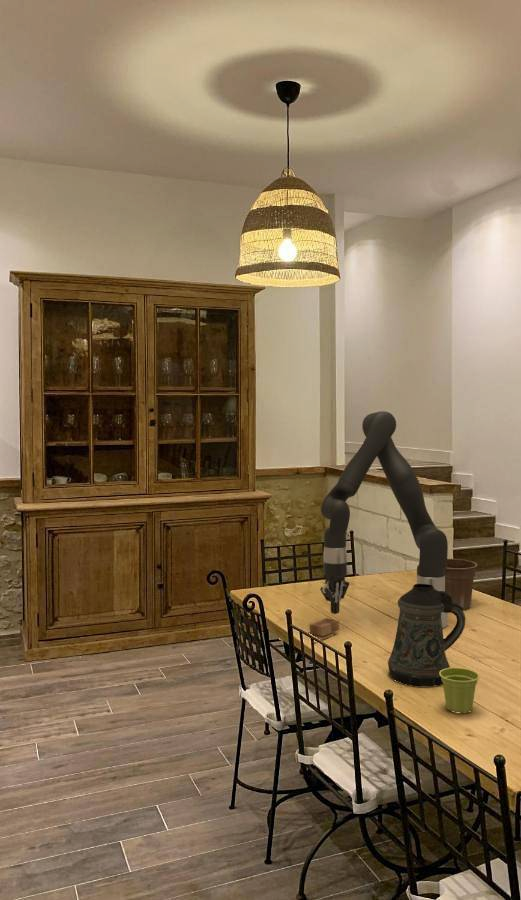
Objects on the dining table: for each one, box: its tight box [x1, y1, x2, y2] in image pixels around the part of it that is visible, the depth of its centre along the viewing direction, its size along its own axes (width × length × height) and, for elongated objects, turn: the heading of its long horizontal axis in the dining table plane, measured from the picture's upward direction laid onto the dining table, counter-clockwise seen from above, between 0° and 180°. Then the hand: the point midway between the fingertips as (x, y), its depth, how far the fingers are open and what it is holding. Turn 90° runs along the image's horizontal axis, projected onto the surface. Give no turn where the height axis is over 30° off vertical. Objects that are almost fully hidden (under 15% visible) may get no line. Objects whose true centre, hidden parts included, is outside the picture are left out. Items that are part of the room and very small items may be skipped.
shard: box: [307, 631, 335, 644], centre depth 234 cm, size 11×8×2 cm
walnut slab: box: [309, 618, 340, 636], centre depth 236 cm, size 5×3×9 cm
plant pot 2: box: [439, 667, 480, 714], centre depth 178 cm, size 9×9×9 cm
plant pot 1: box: [445, 558, 478, 611], centre depth 270 cm, size 16×16×16 cm
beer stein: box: [387, 583, 467, 688], centre depth 200 cm, size 16×19×25 cm
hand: (335, 613), depth 239 cm, fingers closed
